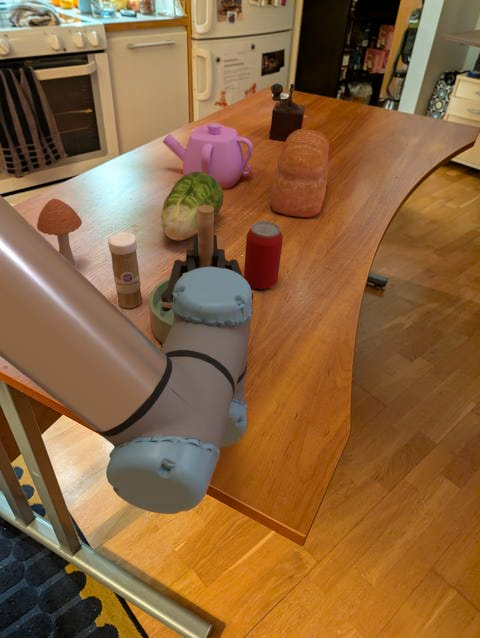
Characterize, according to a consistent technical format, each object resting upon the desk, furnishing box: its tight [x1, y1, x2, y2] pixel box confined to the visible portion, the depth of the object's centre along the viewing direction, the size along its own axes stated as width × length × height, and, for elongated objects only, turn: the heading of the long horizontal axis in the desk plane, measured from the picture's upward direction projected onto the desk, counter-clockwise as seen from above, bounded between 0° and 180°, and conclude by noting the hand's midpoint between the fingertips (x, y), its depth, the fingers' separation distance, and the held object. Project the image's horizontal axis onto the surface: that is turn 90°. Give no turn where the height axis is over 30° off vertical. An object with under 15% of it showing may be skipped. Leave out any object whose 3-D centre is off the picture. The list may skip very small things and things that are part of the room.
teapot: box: [162, 122, 254, 190], centre depth 125 cm, size 19×21×14 cm
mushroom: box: [36, 198, 83, 268], centre depth 87 cm, size 8×8×15 cm
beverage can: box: [243, 220, 284, 290], centre depth 88 cm, size 7×7×12 cm
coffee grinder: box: [268, 82, 306, 142], centre depth 151 cm, size 16×11×18 cm
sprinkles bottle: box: [107, 231, 143, 309], centre depth 81 cm, size 5×5×13 cm
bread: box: [269, 128, 330, 218], centre depth 118 cm, size 14×26×15 cm, turn 168°
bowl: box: [148, 273, 186, 345], centre depth 79 cm, size 15×15×6 cm
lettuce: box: [160, 172, 225, 242], centre depth 102 cm, size 12×21×11 cm, turn 166°
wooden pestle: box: [197, 205, 215, 268], centre depth 74 cm, size 4×4×20 cm
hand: (204, 242), depth 78 cm, fingers closed on wooden pestle, 2 cm apart
